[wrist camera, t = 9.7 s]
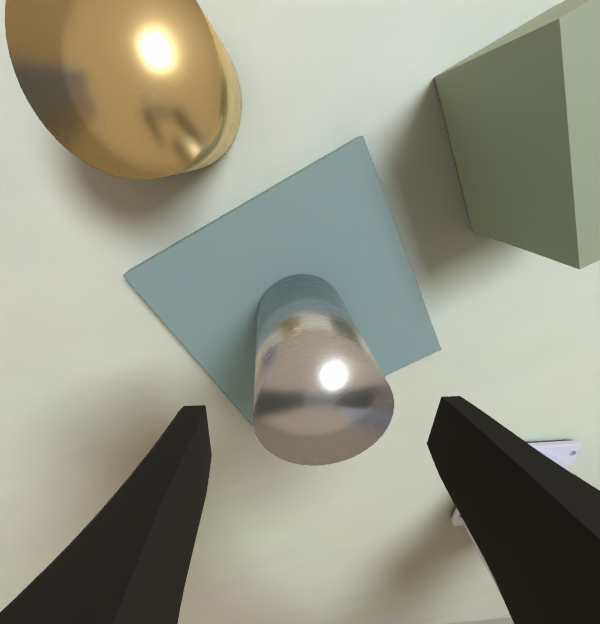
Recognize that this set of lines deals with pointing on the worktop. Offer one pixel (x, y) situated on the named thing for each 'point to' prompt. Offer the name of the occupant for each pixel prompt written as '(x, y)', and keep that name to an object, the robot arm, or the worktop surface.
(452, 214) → the worktop surface
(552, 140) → the block
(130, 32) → the cylinder
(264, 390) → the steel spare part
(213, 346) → the parts mat
